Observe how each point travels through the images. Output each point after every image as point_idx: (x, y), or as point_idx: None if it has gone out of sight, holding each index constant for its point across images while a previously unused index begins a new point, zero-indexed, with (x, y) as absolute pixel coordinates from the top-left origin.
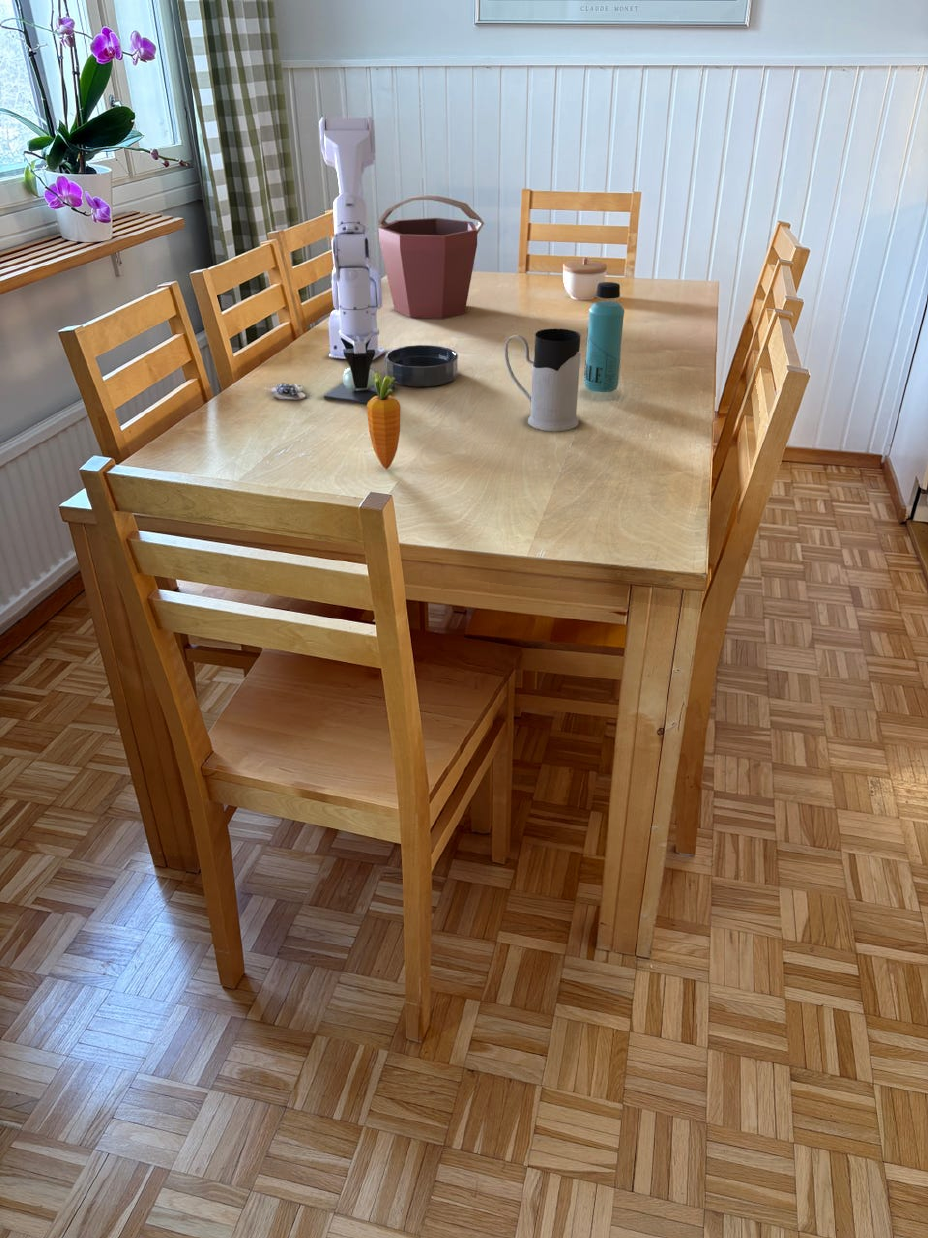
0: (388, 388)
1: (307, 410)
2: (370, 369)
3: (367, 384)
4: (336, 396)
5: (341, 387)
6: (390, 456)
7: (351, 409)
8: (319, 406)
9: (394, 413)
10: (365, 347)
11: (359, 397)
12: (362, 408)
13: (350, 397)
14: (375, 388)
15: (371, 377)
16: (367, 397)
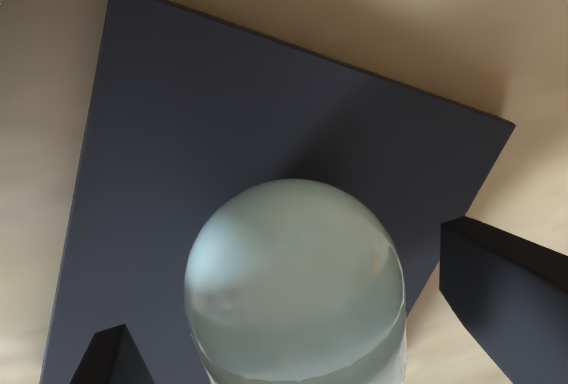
0: (221, 50)
1: (493, 381)
2: (348, 292)
3: (483, 223)
4: None
5: None
6: None
7: (533, 222)
8: (458, 360)
9: None
10: None
11: (414, 226)
12: (535, 170)
13: (406, 273)
14: (229, 163)
15: (380, 231)
16: (422, 179)
